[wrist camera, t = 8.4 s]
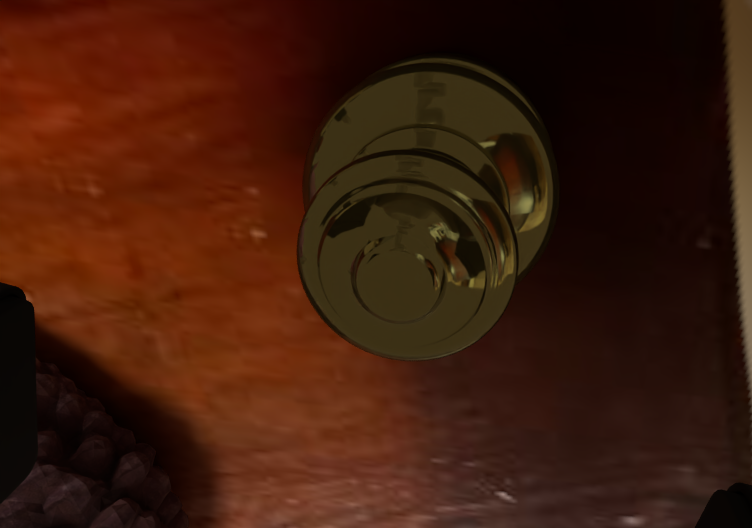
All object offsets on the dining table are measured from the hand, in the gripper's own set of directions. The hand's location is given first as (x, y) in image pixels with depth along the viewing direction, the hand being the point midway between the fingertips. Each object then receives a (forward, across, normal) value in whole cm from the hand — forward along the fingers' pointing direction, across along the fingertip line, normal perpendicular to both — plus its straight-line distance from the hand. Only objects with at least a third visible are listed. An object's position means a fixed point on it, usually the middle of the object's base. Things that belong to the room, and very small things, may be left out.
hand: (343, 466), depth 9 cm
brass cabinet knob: (+15, 0, 0) cm, 15 cm away
